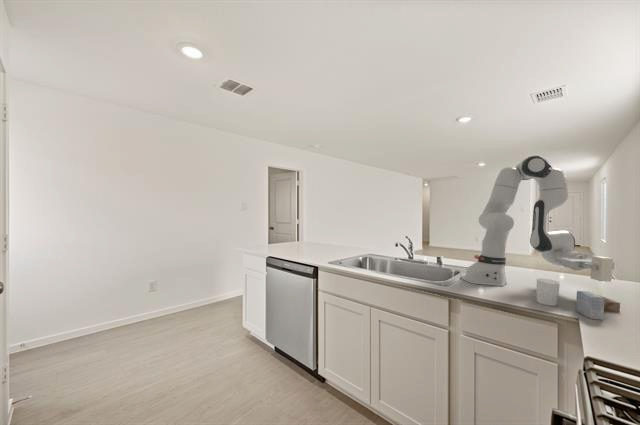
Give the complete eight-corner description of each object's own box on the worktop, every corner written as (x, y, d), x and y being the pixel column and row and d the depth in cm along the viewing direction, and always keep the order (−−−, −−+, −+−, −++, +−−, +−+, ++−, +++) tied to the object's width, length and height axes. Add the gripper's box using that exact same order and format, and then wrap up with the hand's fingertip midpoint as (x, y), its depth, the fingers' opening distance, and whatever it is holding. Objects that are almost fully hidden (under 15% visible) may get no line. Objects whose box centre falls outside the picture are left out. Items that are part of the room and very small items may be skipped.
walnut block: (597, 311, 113) (597, 301, 113) (577, 303, 122) (577, 294, 122) (619, 312, 113) (620, 302, 112) (597, 303, 122) (598, 295, 121)
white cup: (533, 302, 120) (534, 280, 120) (537, 298, 125) (538, 277, 125) (556, 308, 114) (557, 284, 114) (560, 304, 119) (561, 281, 119)
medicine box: (603, 320, 103) (605, 298, 103) (589, 319, 104) (591, 296, 104) (587, 312, 111) (589, 291, 111) (575, 310, 112) (576, 290, 112)
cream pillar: (600, 281, 116) (602, 258, 116) (590, 278, 120) (592, 256, 120) (610, 281, 116) (612, 258, 115) (600, 278, 120) (602, 256, 120)
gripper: (552, 253, 131) (579, 259, 117) (596, 254, 130) (628, 261, 117) (551, 266, 131) (578, 274, 117) (595, 267, 131) (626, 275, 117)
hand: (603, 267), depth 117 cm, fingers closed on cream pillar, 4 cm apart
